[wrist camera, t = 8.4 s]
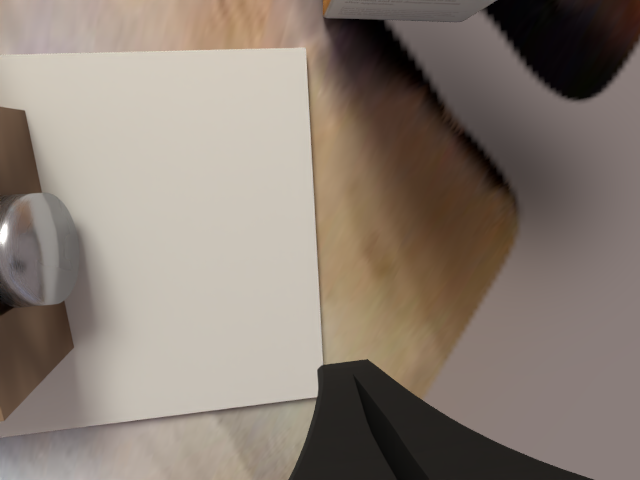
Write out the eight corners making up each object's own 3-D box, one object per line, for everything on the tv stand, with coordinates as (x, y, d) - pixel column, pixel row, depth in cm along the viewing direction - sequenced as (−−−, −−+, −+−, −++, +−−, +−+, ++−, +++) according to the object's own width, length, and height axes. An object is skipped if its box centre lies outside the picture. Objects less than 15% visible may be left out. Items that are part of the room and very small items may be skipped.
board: (323, 388, 21) (324, 395, 20) (-43, 435, 19) (-52, 444, 18) (304, 51, 17) (305, 47, 16) (-152, 62, 15) (-169, 58, 14)
